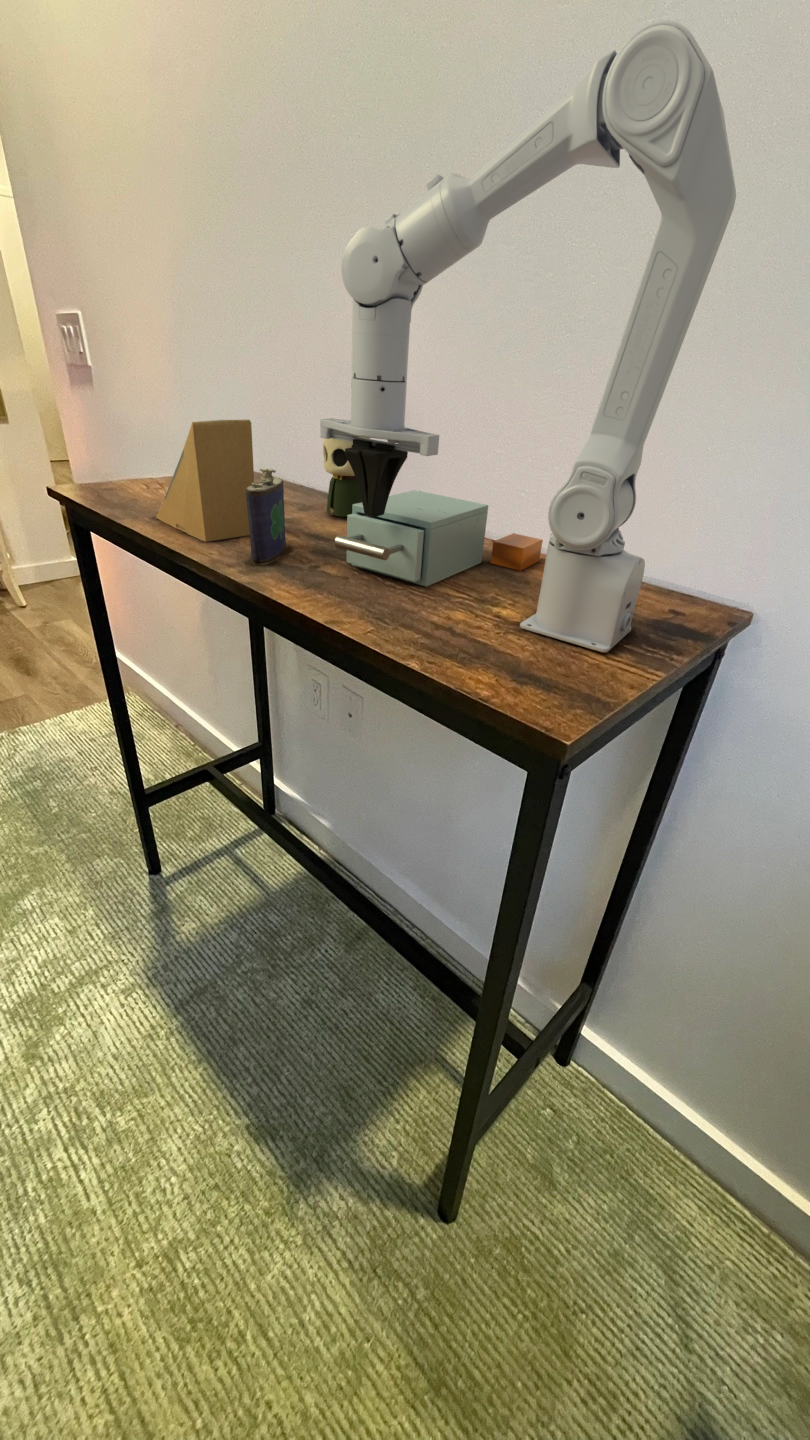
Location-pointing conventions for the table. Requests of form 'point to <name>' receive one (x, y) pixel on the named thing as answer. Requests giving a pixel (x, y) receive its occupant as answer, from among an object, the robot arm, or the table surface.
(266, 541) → the flask
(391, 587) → the table surface
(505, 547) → the block
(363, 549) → the drawer
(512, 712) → the table surface
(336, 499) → the character mug
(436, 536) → the cabinet
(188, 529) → the sandwich container
